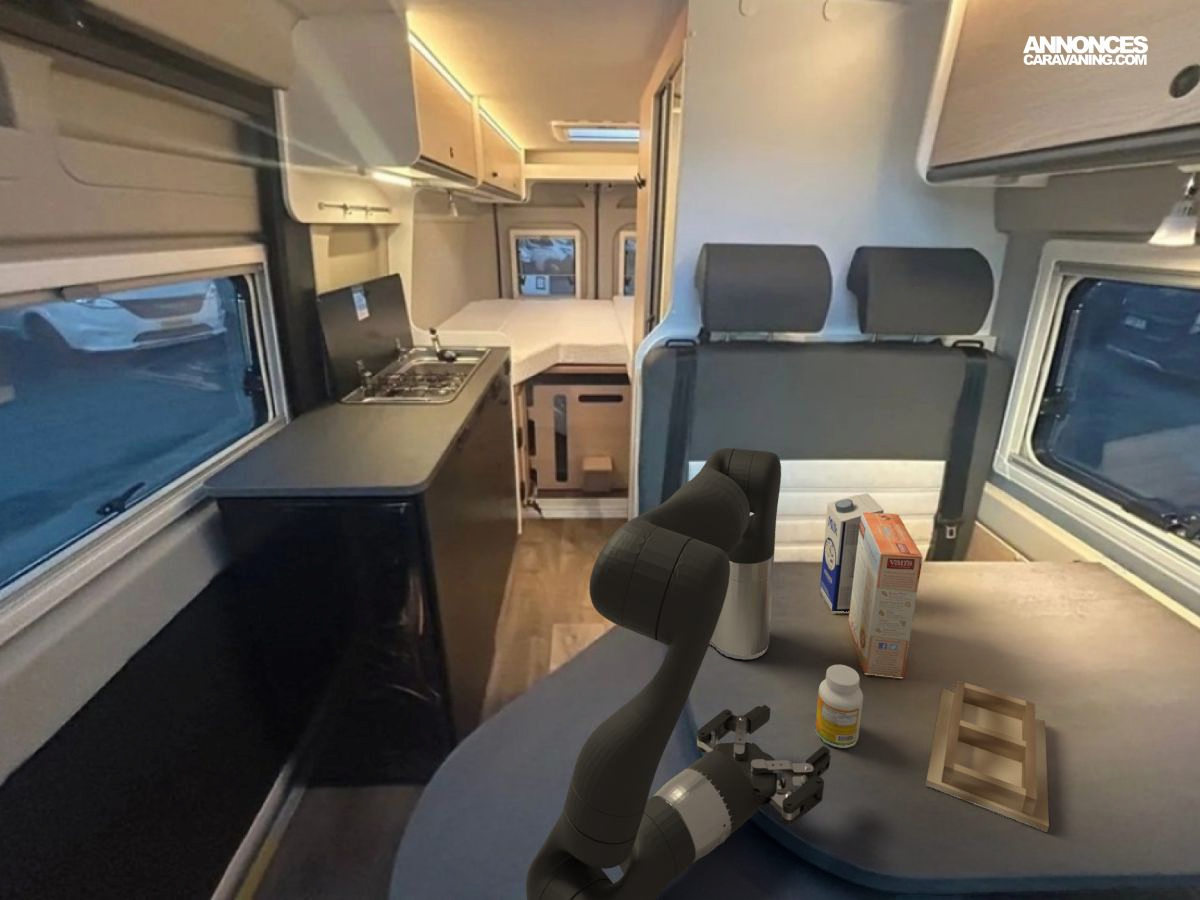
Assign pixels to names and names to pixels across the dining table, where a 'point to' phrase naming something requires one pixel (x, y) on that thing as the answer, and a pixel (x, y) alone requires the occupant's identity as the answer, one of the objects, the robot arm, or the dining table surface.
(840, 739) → the supplement bottle
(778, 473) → the robot arm
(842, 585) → the milk carton
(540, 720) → the dining table surface
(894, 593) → the cracker box
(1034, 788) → the tray
